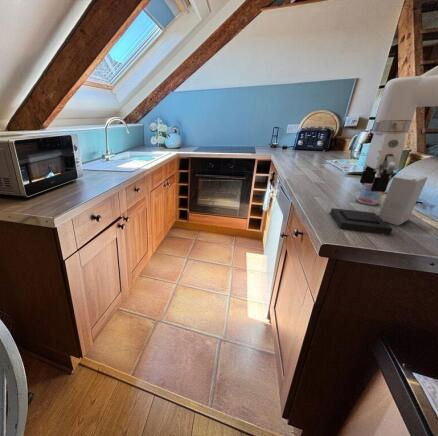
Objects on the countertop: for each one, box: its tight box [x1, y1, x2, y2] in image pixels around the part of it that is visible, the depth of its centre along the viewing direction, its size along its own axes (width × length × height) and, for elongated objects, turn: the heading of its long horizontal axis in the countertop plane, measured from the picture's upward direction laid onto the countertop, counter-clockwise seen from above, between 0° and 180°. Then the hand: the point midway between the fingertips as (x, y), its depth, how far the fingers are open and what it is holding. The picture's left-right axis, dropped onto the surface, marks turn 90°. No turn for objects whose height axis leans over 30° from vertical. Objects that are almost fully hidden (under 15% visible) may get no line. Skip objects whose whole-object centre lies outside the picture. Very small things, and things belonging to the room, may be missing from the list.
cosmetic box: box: [377, 173, 429, 226], centre depth 78 cm, size 8×6×15 cm
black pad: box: [342, 211, 377, 224], centre depth 79 cm, size 7×7×2 cm
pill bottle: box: [357, 174, 383, 206], centre depth 95 cm, size 6×6×11 cm
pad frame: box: [329, 207, 393, 235], centre depth 79 cm, size 12×14×2 cm
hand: (371, 187), depth 74 cm, fingers open, 9 cm apart
